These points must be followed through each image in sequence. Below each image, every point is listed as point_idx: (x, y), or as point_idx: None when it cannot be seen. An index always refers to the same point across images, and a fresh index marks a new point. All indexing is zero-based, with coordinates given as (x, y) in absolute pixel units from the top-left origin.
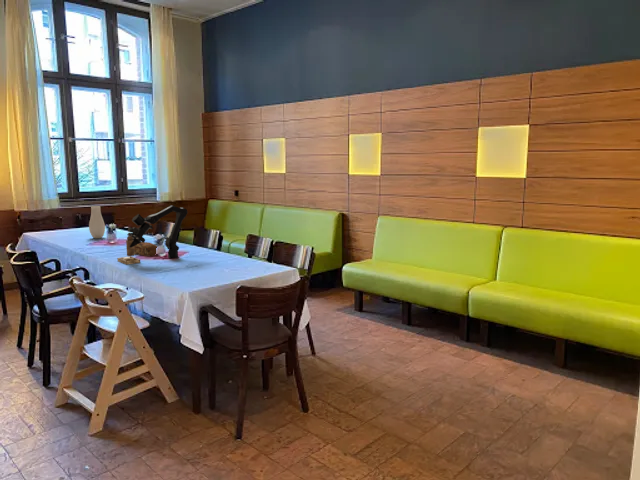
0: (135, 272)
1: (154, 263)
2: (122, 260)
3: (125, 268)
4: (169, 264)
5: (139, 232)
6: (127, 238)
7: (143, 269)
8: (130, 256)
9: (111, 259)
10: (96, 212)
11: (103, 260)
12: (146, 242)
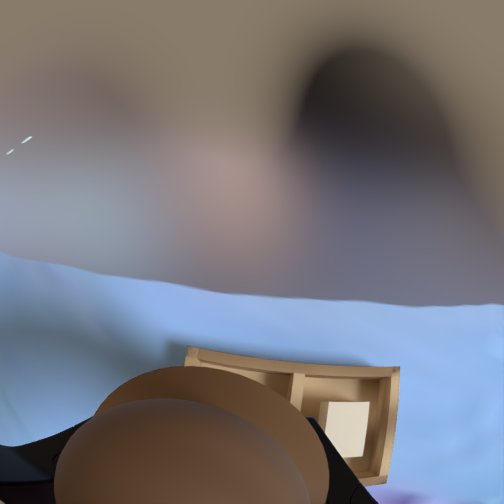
0: (22, 262)
1: None
2: (283, 361)
3: (116, 285)
4: None
5: None
6: (169, 400)
7: (24, 328)
8: (380, 478)
9: (470, 364)
10: None
11: (467, 314)
12: None
